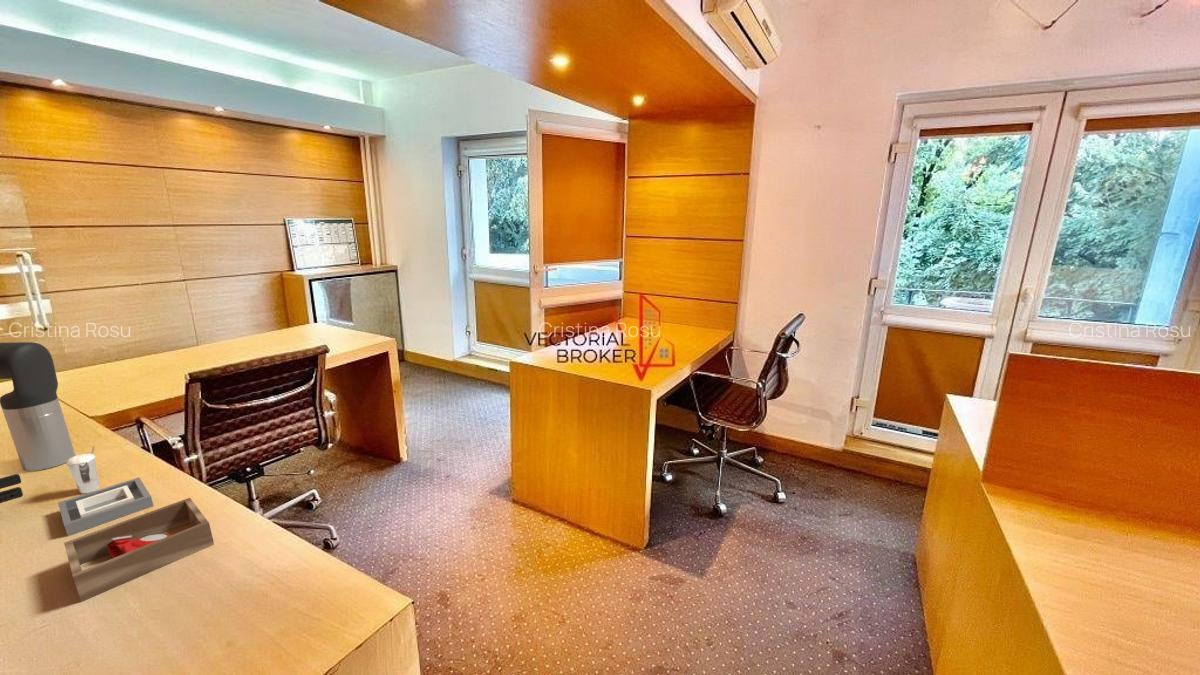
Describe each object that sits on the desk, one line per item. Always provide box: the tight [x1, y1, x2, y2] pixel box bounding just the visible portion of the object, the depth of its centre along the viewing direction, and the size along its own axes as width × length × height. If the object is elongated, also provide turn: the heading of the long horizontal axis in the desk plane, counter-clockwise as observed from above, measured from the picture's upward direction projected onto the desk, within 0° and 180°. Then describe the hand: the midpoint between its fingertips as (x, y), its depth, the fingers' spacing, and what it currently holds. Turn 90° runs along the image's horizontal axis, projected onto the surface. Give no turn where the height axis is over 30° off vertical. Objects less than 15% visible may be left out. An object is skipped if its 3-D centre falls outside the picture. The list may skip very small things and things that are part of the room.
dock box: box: [57, 477, 154, 537], centre depth 102 cm, size 13×13×2 cm
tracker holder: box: [104, 533, 171, 559], centre depth 87 cm, size 12×4×10 cm
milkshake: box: [66, 445, 101, 495], centre depth 109 cm, size 4×5×10 cm
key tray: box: [63, 497, 215, 602], centre depth 88 cm, size 14×18×5 cm
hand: (21, 484), depth 101 cm, fingers open, 8 cm apart
